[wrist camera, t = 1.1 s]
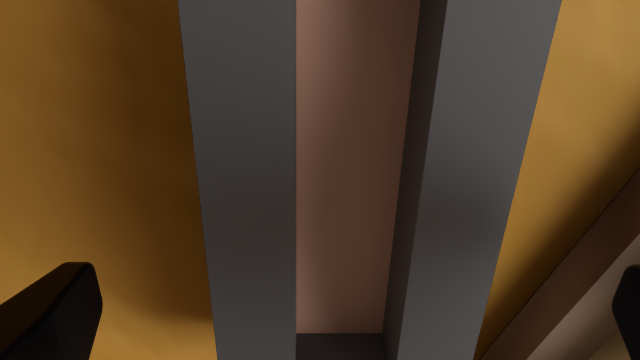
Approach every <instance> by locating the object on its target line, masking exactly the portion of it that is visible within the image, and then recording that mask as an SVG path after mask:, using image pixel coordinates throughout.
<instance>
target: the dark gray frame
mask: <svg viewBox="0 0 640 360" xmlns="http://www.w3.org/2000/svg"><path fill="white" fill-rule="evenodd" d="M561 2H562V0H178V8H179V17H180V26H181V35H182V44H183V53H184V62H185V71H186V80H187V89H188V98H189V107H190V116H191V125H192V134H193V143H194V152H195V161H196V170H197V179H198V188H199V197H200V206H201V215H202V224H203V233H204V243H205V252H206V261H207V270H208V279H209V288H210V297H211V306H212V315H213V324H214V333H215V342H216V351H217V360H473V357H474V353H475V349H476V345H477V341H478V337H479V333H480V329H481V325H482V321H483V317H484V313H485V309H486V304H487V300H488V296H489V292H490V288H491V284H492V280H493V276H494V272H495V268H496V264H497V260H498V256H499V252H500V248H501V244H502V240H503V236H504V232H505V228H506V224H507V220H508V216H509V212H510V208H511V204H512V199H513V195H514V191H515V187H516V183H517V179H518V175H519V171H520V167H521V163H522V159H523V155H524V151H525V147H526V143H527V139H528V135H529V131H530V127H531V123H532V119H533V115H534V111H535V107H536V103H537V99H538V95H539V90H540V86H541V82H542V78H543V74H544V70H545V66H546V62H547V58H548V54H549V50H550V46H551V42H552V38H553V34H554V30H555V26H556V22H557V18H558V14H559V10H560V6H561Z"/></svg>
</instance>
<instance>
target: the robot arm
mask: <svg viewBox="0 0 640 360" xmlns="http://www.w3.org/2000/svg"><path fill="white" fill-rule="evenodd" d="M102 306H103V303H102V296H101V292H100V288H99V284H98V280H97V276H96V272H95V269H94V267H93V265H92V264H91V263H89V262H66V263H63V264H62V265H60V266H58V267H57V268H55V269H54V270H52V271H51V272H49V273H48V274H46V275H45V276H43V277H42V278H40V279H39V280H37V281H36V282H34V283H33V284H31V285H30V286H28V287H27V288H25V289H24V290H22V291H21V292H19V293H18V294H16V295H15V296H13V297H12V298H10V299H9V300H7V301H6V302H4V303H2V304H1V305H0V360H89V357H90V354H91V350H92V346H93V343H94V339H95V336H96V332H97V328H98V325H99V321H100V318H101V314H102ZM612 313H613V316H614V319H615V321H616V324H617V326H618V329H619V331H620V334H621V336H622V339H623V341H624V344H625V346H626V349H627V351H628V354H629V356H630V359H631V360H640V265H638V264H634V265H630V266H628V267H627V268H626V269H625V270H624V272H623V275H622V277H621V280H620V282H619V285H618V287H617V289H616V292H615V294H614V297H613V300H612Z"/></svg>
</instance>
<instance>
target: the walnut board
mask: <svg viewBox="0 0 640 360" xmlns="http://www.w3.org/2000/svg"><path fill="white" fill-rule="evenodd" d="M634 264H638V265H640V168H639V170H638V171H637V172H636V173H635V174H634V176H633V177H632V178H631V179H630V180H629V182H628V183H627V184H626V185H625V186H624V188H623V189H622V190H621V191H620V192H619V194H618V195H617V196H616V197H615V198H614V200H613V201H612V202H611V203H610V204H609V206H608V207H607V208H606V209H605V210H604V211H603V213H602V214H601V215H600V216H599V217H598V219H597V220H596V221H595V222H594V223H593V225H592V226H591V227H590V228H589V229H588V231H587V232H586V233H585V234H584V235H583V237H582V238H581V239H580V240H579V241H578V243H577V244H576V245H575V246H574V247H573V249H572V250H571V251H570V252H569V253H568V255H567V256H566V257H565V258H564V259H563V261H562V262H561V263H560V264H559V265H558V267H557V268H556V269H555V270H554V271H553V272H552V274H551V275H550V276H549V277H548V278H547V280H546V281H545V282H544V283H543V284H542V286H541V287H540V288H539V289H538V290H537V292H536V293H535V294H534V295H533V296H532V298H531V299H530V300H529V301H528V302H527V304H526V305H525V306H524V307H523V308H522V310H521V311H520V312H519V313H518V314H517V316H516V317H515V318H514V319H513V320H512V322H511V323H510V324H509V325H508V326H507V327H506V329H505V330H504V331H503V332H502V333H501V335H500V336H499V337H498V338H497V339H496V341H495V342H494V343H493V344H492V345H491V347H490V348H489V349H488V350H487V351H486V353H485V354H484V355H483V356H482V357H481V359H480V360H631V359H630V356H629V354H628V351H627V349H626V346H625V344H624V341H623V339H622V336H621V334H620V331H619V329H618V326H617V324H616V321H615V319H614V316H613V313H612V300H613V297H614V294H615V292H616V289H617V287H618V285H619V282H620V280H621V277H622V275H623V272H624V270H625V269H626V268H627V267H628V266H630V265H634Z"/></svg>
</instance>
